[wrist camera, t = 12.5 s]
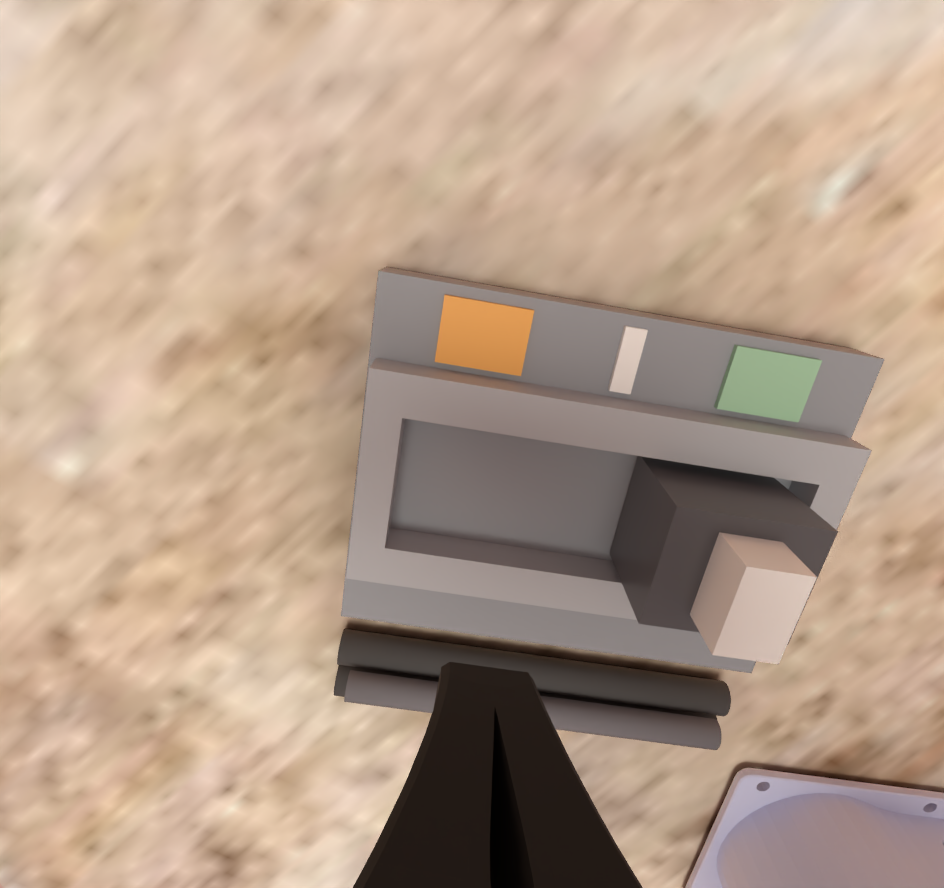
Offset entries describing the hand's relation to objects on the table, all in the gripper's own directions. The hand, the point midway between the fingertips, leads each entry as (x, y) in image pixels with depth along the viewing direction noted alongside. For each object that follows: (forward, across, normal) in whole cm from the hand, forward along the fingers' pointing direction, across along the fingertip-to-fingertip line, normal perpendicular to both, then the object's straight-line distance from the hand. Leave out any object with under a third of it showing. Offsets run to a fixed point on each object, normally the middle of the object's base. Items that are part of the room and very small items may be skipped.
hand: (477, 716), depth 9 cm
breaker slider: (+9, -7, 0) cm, 11 cm away
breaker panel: (+10, -4, 0) cm, 11 cm away
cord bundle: (+10, -4, +8) cm, 13 cm away
